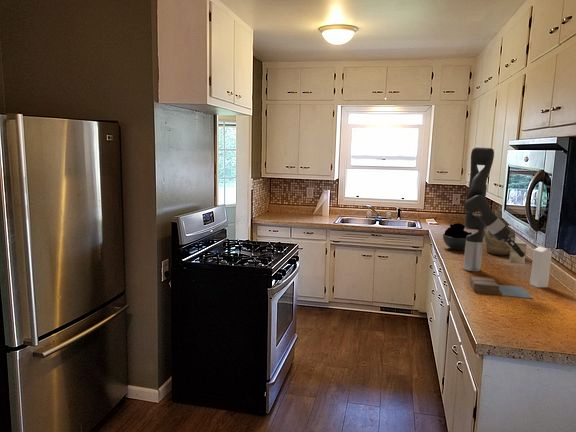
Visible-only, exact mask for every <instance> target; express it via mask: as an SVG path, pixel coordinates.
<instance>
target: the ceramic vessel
mask: <svg viewBox="0 0 576 432" xmlns="http://www.w3.org/2000/svg"><path fill="white" fill-rule="evenodd" d="M502 211H503V210H494V214H495V215H496V216H497V217H498V218H499V219H500V220H501V221H502V222H503V223H504V224H505V225H506V226H507V227H508V228H509V230H510V231H511V233H510V234H509V235H508V236H510V237H512V238H513V239H514V241H515V242H516V232H515V230H514V229H513V228H511V227H509V226H511V225H509V224H508V223H507V222H506V221H505V220H504V219H503V218H502ZM483 240H484V242H485V249H486V251H487V253H489V254H490V253H491V255H493V254H494V255H495V256H502V257H503V256H508V255H510V249H511V248H510V247H509V246H508V245H507V244H506V243H505V242H504V240H503V239H502V240H500V241H498V240H497V239H496V238H495V237H494V236H493V235H492V234H491V232H490V231H489V230H488V229H487V228H486V230H484V235H483ZM494 255H493V256H494Z"/></svg>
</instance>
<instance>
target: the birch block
mask: <svg viewBox="0 0 576 432" xmlns="http://www.w3.org/2000/svg"><path fill="white" fill-rule="evenodd" d="M515 242H516V243H517V245H518V247H520V250H521V251H522V252H523V253H524V254H525V256H523V257H520V256H519V255H518V253H517V252H515V250H514V249H510V253H509V260H508V261H509V263H510V264H516V265H517V264H518V265H525V262H526V254H527V245H528V244H527V243H526V242H523V241H522V242H521V241H520V242H519V241H515ZM516 248H517V247H515V249H516Z"/></svg>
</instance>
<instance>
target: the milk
mask: <svg viewBox="0 0 576 432" xmlns="http://www.w3.org/2000/svg"><path fill="white" fill-rule="evenodd" d="M552 256H553V251H552V250H550V249H549V247H548V248H545V247H543V246H542V245H538V247H536V248H534V249H533V256H532V263H531V264H532V265H531V270H530V271H531V272H530V279H529V285H531V286H533V287H536V288H548V286H549V281H550V272H551V265H552Z"/></svg>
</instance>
